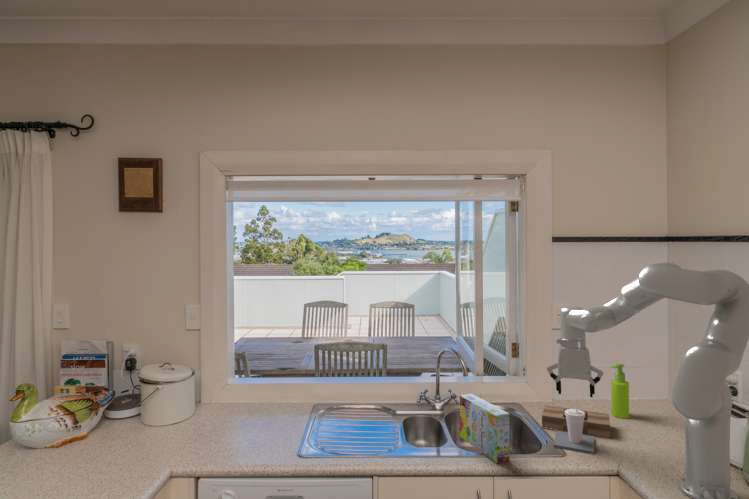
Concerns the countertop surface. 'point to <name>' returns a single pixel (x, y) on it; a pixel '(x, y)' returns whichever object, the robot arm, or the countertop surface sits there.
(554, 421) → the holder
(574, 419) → the smoothie
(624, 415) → the soap dispenser
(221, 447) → the countertop surface
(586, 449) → the mat
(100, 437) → the countertop surface
